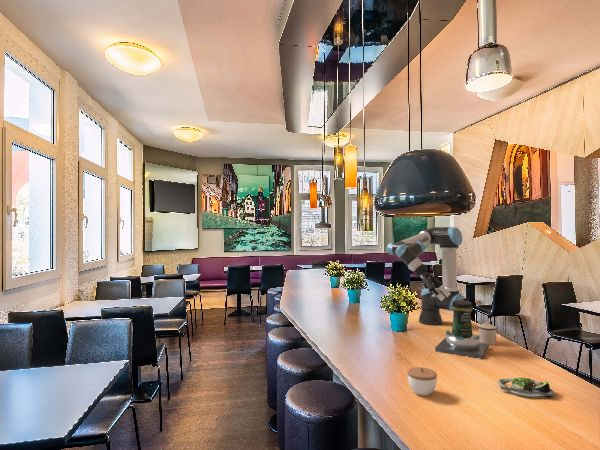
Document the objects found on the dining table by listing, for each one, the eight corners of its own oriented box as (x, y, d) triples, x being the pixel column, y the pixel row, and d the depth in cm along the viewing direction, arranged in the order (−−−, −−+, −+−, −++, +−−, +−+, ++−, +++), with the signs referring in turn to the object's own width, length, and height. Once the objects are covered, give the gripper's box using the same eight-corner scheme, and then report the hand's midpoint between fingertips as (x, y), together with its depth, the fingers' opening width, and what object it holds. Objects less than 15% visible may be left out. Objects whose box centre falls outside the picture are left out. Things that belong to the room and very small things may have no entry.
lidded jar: (408, 385, 150) (408, 361, 150) (437, 389, 146) (437, 365, 147) (406, 395, 140) (406, 370, 141) (436, 400, 136) (436, 374, 137)
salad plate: (514, 402, 136) (514, 389, 136) (485, 382, 154) (485, 371, 154) (564, 400, 138) (564, 387, 138) (530, 381, 155) (530, 370, 156)
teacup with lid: (500, 345, 204) (499, 323, 204) (483, 345, 203) (483, 323, 204) (488, 338, 216) (488, 318, 216) (472, 339, 215) (472, 318, 216)
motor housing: (445, 340, 211) (445, 326, 211) (489, 347, 199) (488, 332, 199) (435, 351, 193) (435, 334, 193) (482, 359, 181) (482, 342, 181)
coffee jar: (456, 338, 192) (456, 301, 193) (449, 333, 200) (449, 299, 200) (475, 337, 193) (474, 301, 193) (467, 333, 200) (467, 298, 201)
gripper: (419, 270, 221) (446, 298, 212) (406, 274, 200) (435, 305, 192) (428, 261, 218) (456, 289, 210) (416, 265, 197) (446, 296, 189)
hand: (446, 297), depth 201 cm, fingers open, 13 cm apart
